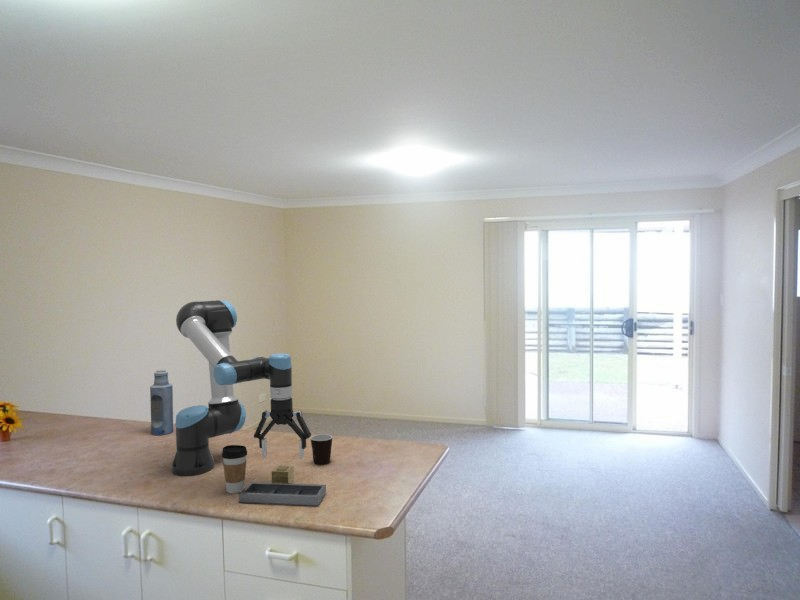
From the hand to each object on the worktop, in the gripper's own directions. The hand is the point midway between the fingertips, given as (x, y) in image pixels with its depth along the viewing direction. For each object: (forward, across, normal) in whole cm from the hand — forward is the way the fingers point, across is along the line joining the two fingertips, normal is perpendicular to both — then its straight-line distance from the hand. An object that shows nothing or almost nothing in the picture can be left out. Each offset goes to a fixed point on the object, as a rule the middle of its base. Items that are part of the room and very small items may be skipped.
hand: (283, 457), depth 187 cm
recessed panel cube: (+10, 0, 0) cm, 10 cm away
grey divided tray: (+10, +4, -11) cm, 15 cm away
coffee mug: (+10, +8, +25) cm, 28 cm away
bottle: (+8, -80, +56) cm, 98 cm away
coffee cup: (+10, -16, -6) cm, 19 cm away
